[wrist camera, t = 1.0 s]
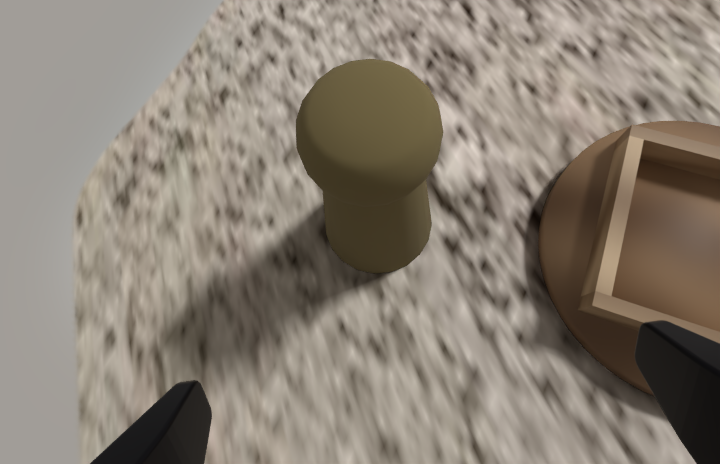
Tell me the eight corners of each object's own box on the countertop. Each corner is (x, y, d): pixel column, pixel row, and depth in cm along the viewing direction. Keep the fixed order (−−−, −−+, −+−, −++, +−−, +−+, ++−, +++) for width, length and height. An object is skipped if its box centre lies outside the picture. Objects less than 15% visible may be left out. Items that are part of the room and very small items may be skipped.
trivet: (845, 466, 18) (914, 481, 16) (506, 342, 21) (521, 339, 19) (857, 174, 22) (914, 150, 20) (571, 102, 25) (591, 72, 23)
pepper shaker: (303, 228, 24) (234, 119, 14) (371, 154, 25) (355, 1, 15) (385, 296, 22) (377, 231, 12) (453, 213, 24) (501, 89, 13)
